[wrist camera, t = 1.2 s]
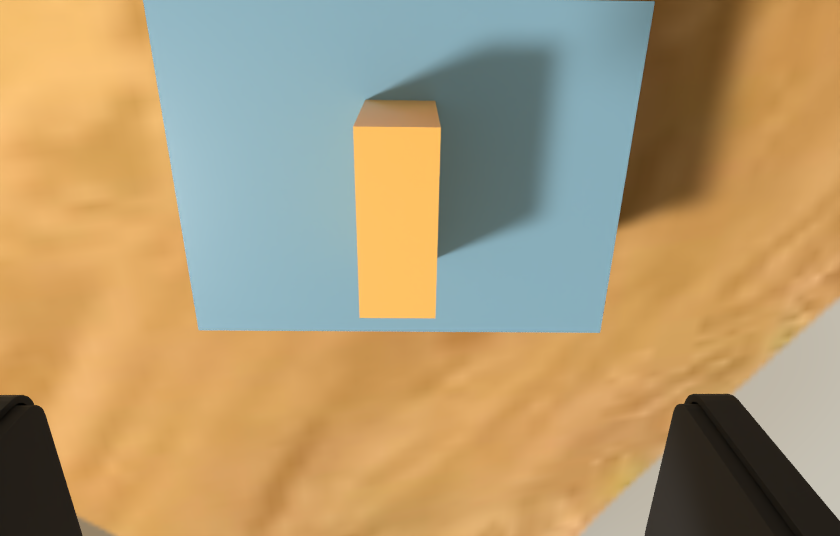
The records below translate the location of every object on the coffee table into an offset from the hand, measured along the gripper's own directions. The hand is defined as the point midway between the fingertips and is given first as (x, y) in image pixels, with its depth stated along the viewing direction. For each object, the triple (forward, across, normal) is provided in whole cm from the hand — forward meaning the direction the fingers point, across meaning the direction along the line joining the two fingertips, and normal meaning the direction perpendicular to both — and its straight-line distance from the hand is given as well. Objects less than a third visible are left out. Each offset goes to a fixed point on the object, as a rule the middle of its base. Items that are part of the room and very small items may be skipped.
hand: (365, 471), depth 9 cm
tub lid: (+16, 0, -1) cm, 16 cm away
